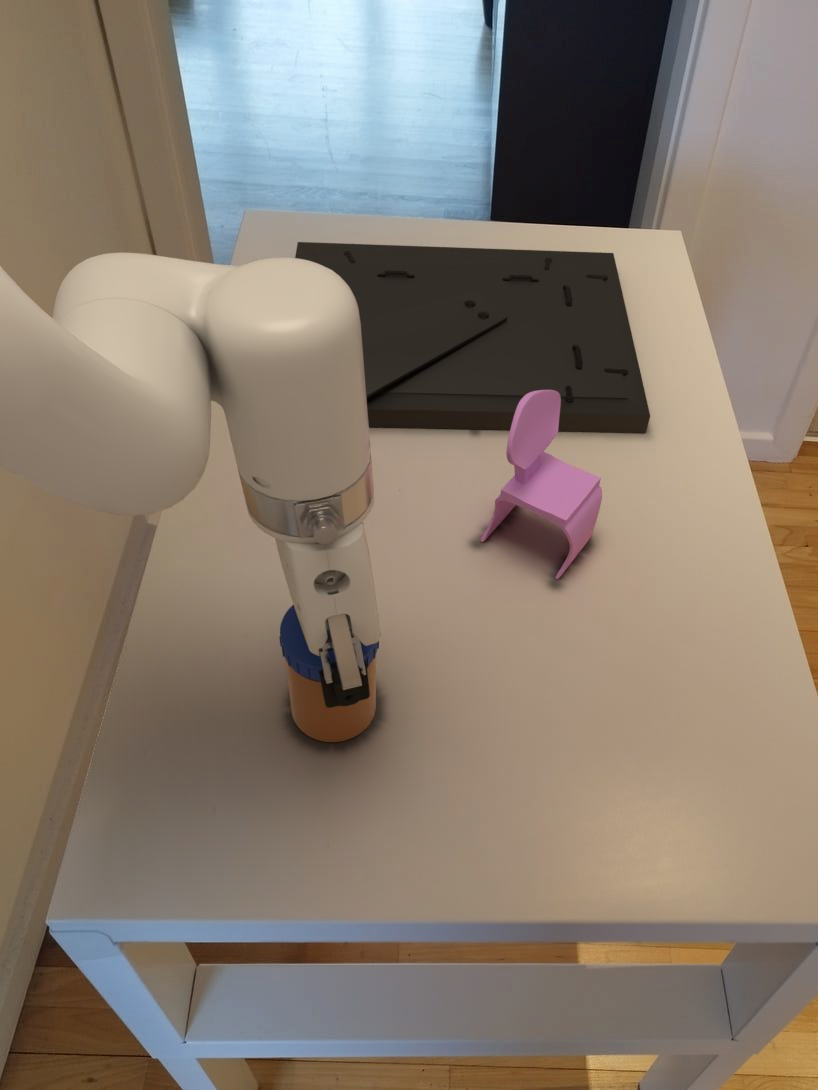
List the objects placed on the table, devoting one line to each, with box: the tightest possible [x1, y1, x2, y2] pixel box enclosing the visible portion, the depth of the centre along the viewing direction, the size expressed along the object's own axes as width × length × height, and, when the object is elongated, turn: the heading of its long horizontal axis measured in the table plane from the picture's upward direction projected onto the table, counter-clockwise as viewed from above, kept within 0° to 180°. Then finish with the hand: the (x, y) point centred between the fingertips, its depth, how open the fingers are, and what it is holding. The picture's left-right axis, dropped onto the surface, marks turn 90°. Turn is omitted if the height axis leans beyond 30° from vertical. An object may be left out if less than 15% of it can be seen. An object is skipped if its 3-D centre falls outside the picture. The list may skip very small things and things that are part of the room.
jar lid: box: [279, 604, 380, 682], centre depth 65 cm, size 7×7×2 cm
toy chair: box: [480, 390, 603, 580], centre depth 78 cm, size 8×9×15 cm
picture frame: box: [294, 241, 651, 434], centre depth 101 cm, size 31×4×38 cm
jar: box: [284, 654, 377, 743], centre depth 68 cm, size 7×7×9 cm
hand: (335, 657), depth 67 cm, fingers closed on jar lid, 6 cm apart
